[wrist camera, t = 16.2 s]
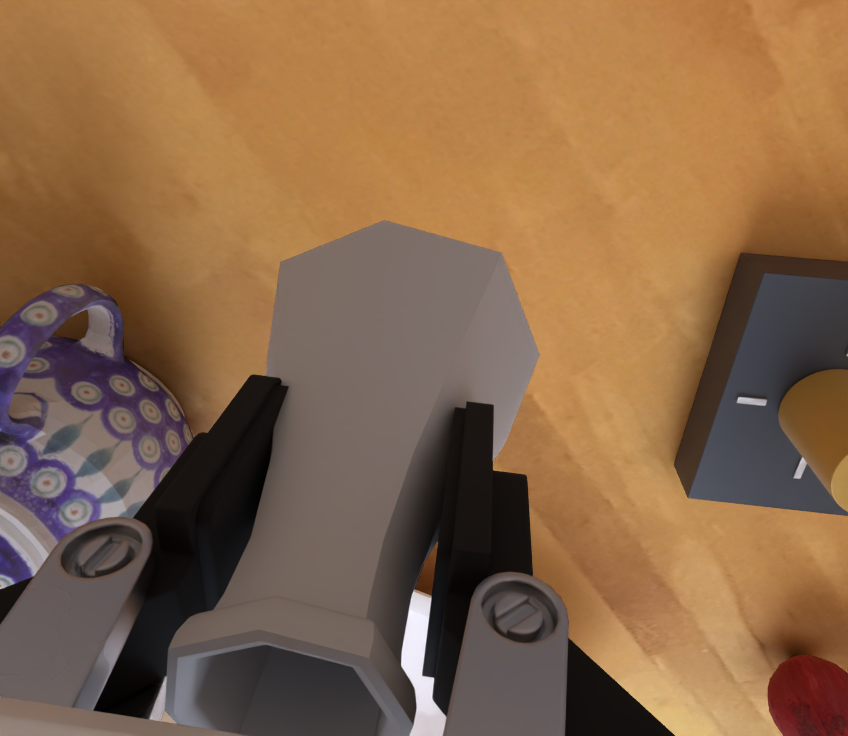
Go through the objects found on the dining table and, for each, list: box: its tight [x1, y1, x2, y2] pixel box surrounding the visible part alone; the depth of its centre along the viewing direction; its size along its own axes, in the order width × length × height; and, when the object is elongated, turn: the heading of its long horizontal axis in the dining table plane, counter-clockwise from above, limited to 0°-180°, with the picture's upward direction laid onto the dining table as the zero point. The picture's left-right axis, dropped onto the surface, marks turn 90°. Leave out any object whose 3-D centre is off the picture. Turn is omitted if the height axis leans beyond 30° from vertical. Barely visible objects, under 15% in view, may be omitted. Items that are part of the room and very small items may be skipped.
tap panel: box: [674, 253, 848, 516], centre depth 31 cm, size 13×10×3 cm
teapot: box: [0, 284, 193, 589], centre depth 32 cm, size 25×15×15 cm, turn 152°
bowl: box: [401, 589, 447, 736], centre depth 44 cm, size 22×23×6 cm
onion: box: [768, 655, 848, 736], centre depth 39 cm, size 6×6×8 cm
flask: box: [165, 220, 540, 736], centre depth 12 cm, size 7×7×10 cm
